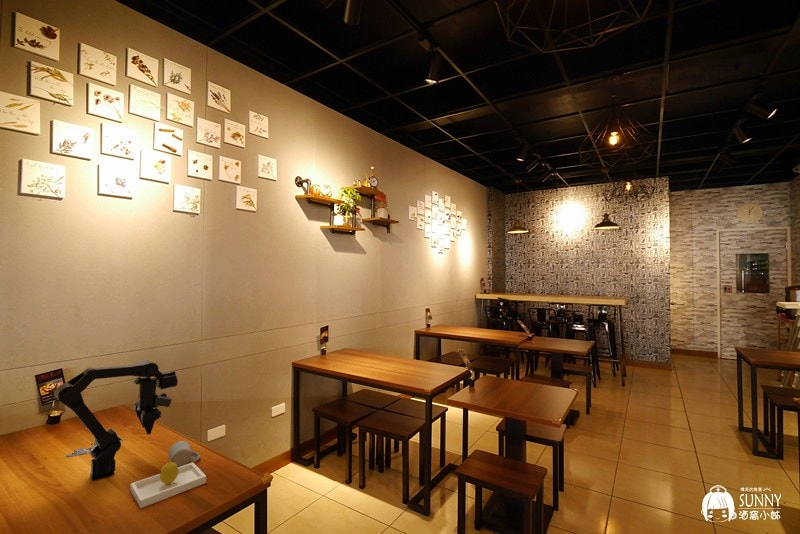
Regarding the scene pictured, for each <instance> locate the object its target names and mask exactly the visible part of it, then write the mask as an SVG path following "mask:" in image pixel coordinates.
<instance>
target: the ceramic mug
mask: <svg viewBox="0 0 800 534" xmlns="http://www.w3.org/2000/svg"><path fill="white" fill-rule="evenodd" d="M168 457H169V461H170V462H174V463H176V464H177V466H178V467H181V466H184V465H187V464H189V463H191V462H198V461H199V460H200V457H201V455H200V454H199V453H197V452H195V451H192V449H191V445H190V443H188V442H187V441H182V440H181V441H177V442H176V443H173V445H172V446H171V447H170V448H169V450H168Z"/></svg>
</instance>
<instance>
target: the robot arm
mask: <svg viewBox="0 0 800 534" xmlns="http://www.w3.org/2000/svg"><path fill="white" fill-rule="evenodd" d="M120 377H121V378H122V377H137V378H136V379H135V380H133V381H132V382H133V384H135V385H138V386H139V389H138V390H139V391H138V395H137V398H138V401H136V402H135V403H134V405H133V410H134V412H135V414H136V416H137V418H138V420H139V422H140V425H141V427H142V428H144V431H145V432H146V434H147V435H151V434H152V432H153V431H152V430H153V428H154V425H155V422H156V421H157V420H158V419H160V418H161V417H162V412H161V409H159V408H158V407H159V406H160V407H166V408H170V406H171V404H172V400H173V399H172V398H171V397H170V396H168V395H167V393H165V392H161V393H160V394H159V395H158V394H157V389H159V390H160V391H162V390H165V389H171V388H176V387H177V386H178V383H179V382H178V377H177V374H176V371H175V370H171V371H169V372H167V371H166V372H162V371H160V370H159V366H158V364H157V363H155V362H153V361H150V360H145V361H138V362H137V363H133V364H129V365H118V366H104V367H88V368H86V369H84V371H82V372H81V373H79V374H77V375H76V376H74V377H73V378H71V379H69V380H68V381H67V382H66V383H62V384H60V385H58V386H57V387H56V388H55V390H54V393H53V394H54V396H55V398H56V399H57V400H58V401H59V402H60V403H62V404H63V405H64V406H66V407H67V408H69V409H70V410H71V411H72V412H74V414H75V416H76V417H77V418H78V419H79V421H81V423H82V424H83V425H84V426H85V427H86V429H87V428H88V430H89V431H90V432H91V433H92V434H93V436H94V439H95V442H96V444H97V446H96V447H95V448H94V449H93V450H92V451H91V452H90V453H89V454H90V456H91V458H92V459H91V462H90V463H91V464H90V467H91V468H90V473H89V476H90V479H91V481H92V482H94V481H98V480H102V479H104V478H107V477H110V476H113V475H115V471H116V459H115V457H116V454H117V453H118V451H119V450H120V449H121V446H122V442H120V440H122V439H121V438H120V437H118V436H117V434H116V432H115V431H114V430H113V429H111V428H110V429H109V430H108V431H107V430H105V428H104V427H103V426H104V425H102V423H101V422H100V421H99V420H98V418H97V417H96V416H95V414H93V412H92V411H91V410H90V408H89V407H88V406H87V404H85V400H84V399H83V395H82V392H83V391H85V390H86V389H87V388H88V386H89V385H90V384H91V383H92V382H94V380H95V381H96V380H101V379H110V378H120ZM152 377H153V378H152Z"/></svg>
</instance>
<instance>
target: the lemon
mask: <svg viewBox="0 0 800 534" xmlns="http://www.w3.org/2000/svg"><path fill="white" fill-rule="evenodd" d="M159 474H160V479H161V481H162V482H163V483H165V484H168V485H169V484H170V483H172V482H173V481H174V480H175V479H176V478H177V475H178V466H177V464H176V463H174V462H171V461H168V462H167V463H165V464H164V465H162V467H161V470H160V473H159Z"/></svg>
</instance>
